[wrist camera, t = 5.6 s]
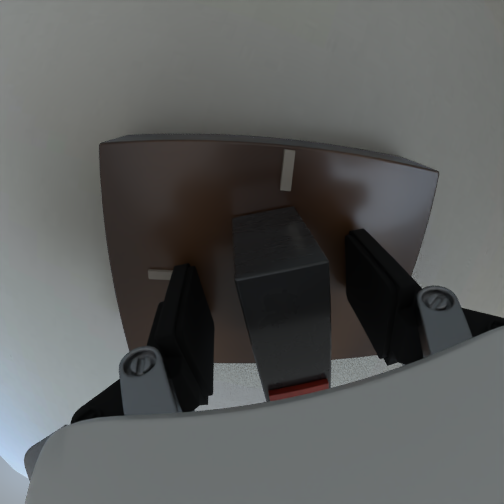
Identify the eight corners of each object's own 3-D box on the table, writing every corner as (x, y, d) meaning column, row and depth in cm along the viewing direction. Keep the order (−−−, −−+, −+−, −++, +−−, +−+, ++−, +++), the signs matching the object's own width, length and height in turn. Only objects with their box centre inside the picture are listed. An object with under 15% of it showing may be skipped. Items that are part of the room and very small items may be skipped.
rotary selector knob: (231, 216, 10) (234, 285, 6) (294, 205, 10) (333, 265, 6) (257, 334, 13) (269, 415, 9) (306, 324, 13) (332, 401, 9)
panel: (403, 157, 12) (442, 172, 10) (360, 321, 17) (380, 357, 14) (125, 135, 11) (96, 143, 8) (142, 320, 16) (129, 360, 13)
